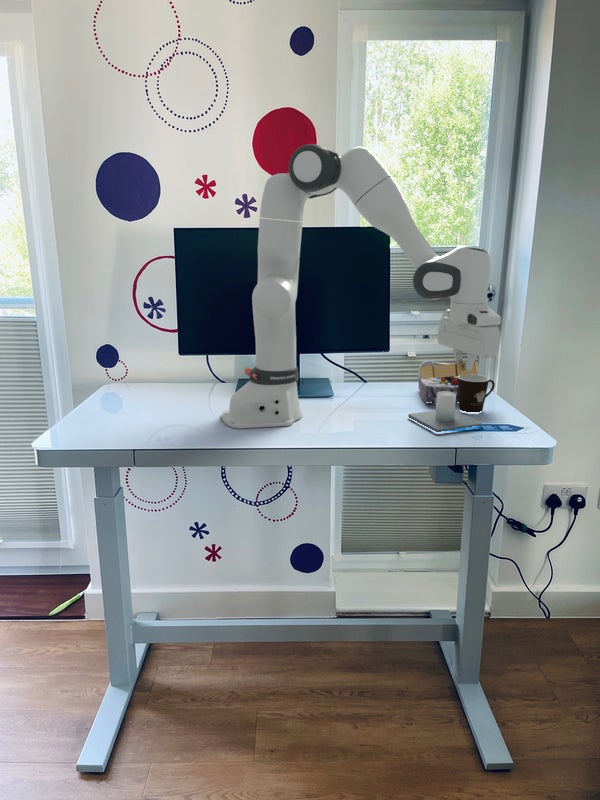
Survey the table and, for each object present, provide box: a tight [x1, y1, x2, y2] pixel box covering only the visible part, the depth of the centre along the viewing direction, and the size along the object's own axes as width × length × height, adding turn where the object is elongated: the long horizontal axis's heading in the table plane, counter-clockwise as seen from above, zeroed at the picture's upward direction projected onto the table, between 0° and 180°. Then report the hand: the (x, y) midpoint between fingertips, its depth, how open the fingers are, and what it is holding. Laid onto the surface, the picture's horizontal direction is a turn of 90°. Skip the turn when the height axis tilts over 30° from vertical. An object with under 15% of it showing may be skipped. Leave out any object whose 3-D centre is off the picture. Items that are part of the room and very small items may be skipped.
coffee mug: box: [457, 374, 496, 412], centre depth 167 cm, size 12×9×10 cm
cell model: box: [417, 360, 459, 404], centre depth 180 cm, size 13×11×20 cm
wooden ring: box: [419, 361, 480, 379], centre depth 153 cm, size 14×14×3 cm
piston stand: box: [407, 391, 484, 432], centre depth 157 cm, size 14×14×8 cm
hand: (463, 368), depth 147 cm, fingers closed on wooden ring, 2 cm apart
